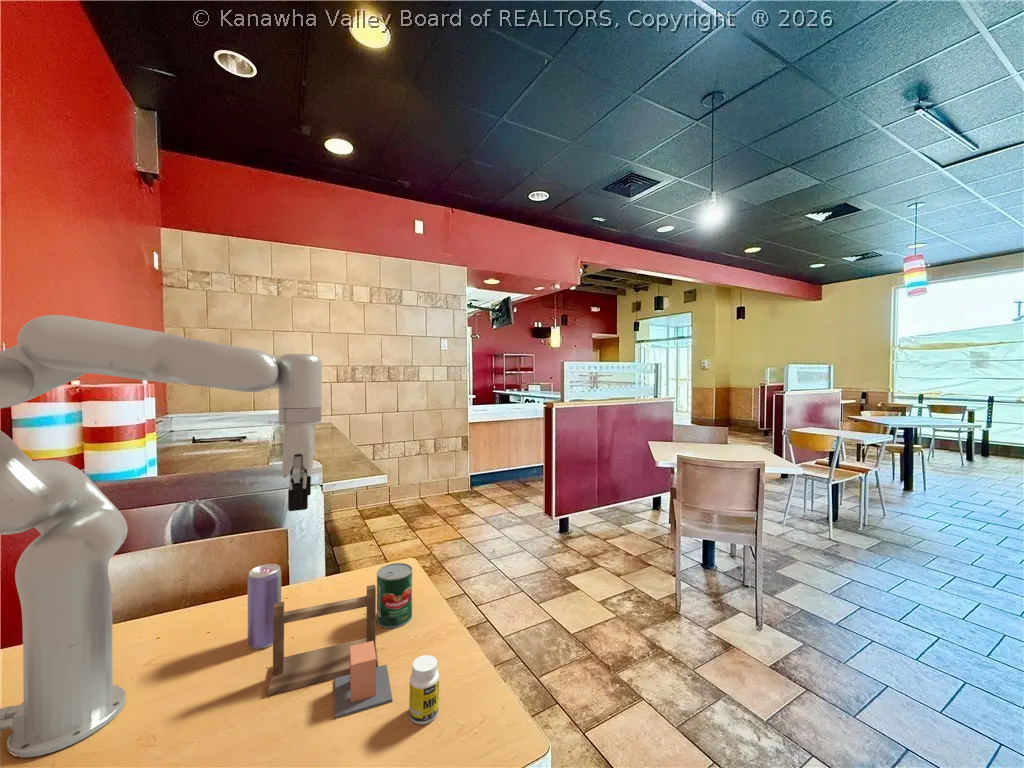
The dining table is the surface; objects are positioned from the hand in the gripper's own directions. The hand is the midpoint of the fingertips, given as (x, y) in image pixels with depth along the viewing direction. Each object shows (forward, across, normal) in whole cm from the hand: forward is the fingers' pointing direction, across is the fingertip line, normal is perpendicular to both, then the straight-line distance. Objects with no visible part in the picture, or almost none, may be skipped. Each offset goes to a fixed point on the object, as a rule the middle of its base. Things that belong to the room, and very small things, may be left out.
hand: (300, 502), depth 80 cm
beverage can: (+31, -7, -7) cm, 32 cm away
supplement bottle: (+31, +24, +20) cm, 44 cm away
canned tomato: (+31, -5, +19) cm, 36 cm away
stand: (+30, +6, +5) cm, 31 cm away
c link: (+30, +15, +11) cm, 35 cm away
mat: (+30, +15, +11) cm, 36 cm away
